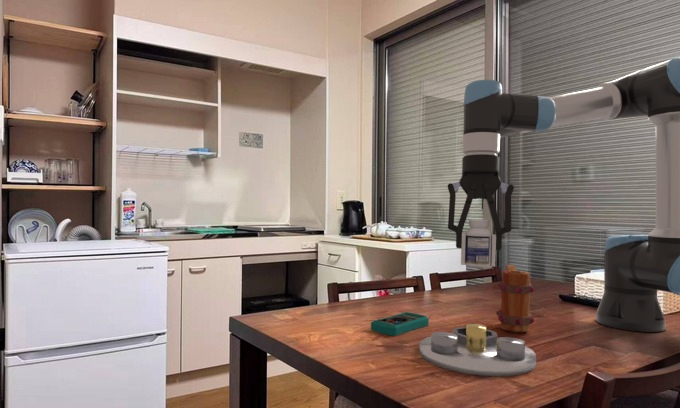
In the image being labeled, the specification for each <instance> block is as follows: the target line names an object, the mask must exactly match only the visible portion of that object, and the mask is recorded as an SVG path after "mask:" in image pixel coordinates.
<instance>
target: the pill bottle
mask: <svg viewBox="0 0 680 408" xmlns="http://www.w3.org/2000/svg"><path fill="white" fill-rule="evenodd" d="M489 222H490V221H489V220H486V219H469V221H468V226H469V229H467V230H466V231H465V234H466V241H465V266H466V267H471V268H490V267H492V266H491V253H492V234H493V233H492V231H491V230H489V229H488V228H489V226H490V223H489Z"/></svg>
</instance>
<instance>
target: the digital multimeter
mask: <svg viewBox="0 0 680 408" xmlns="http://www.w3.org/2000/svg"><path fill="white" fill-rule="evenodd" d="M428 326H429V317H427V316H426V315H422V314H419V313H414V312H413V313H412V312H408V311H407V312H400V313H397V314H395V315H391V316H388V317H387V316H386V317H383V318H378V319H374V320H373V321H371V322H370V331H372V332H376V333H378V334H382V335H387V336H392V337H396V336H399V335H403V334H405V333H408V332H411V331H415V330H418V329H422V328H426V327H428Z"/></svg>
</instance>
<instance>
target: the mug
mask: <svg viewBox="0 0 680 408" xmlns="http://www.w3.org/2000/svg"><path fill="white" fill-rule="evenodd" d="M516 267H517V266H516V265H514V264H506V266H505V270H503V271H502V275H501V276H502V279H501V281H500V282H499V283H498V287H499V290H500V293H501V294H500V295H501V309H499V310H497V311H496V312H495V313H496V315H497V317H498V319H497V320H498V321H499V322H500V328H501V329H502V330H503V331H506V332H508V333H509V332H510V333H515V334H516V333H517V334H519V333H520V334H522V333H525V332H528V331H529V329H530V325H532V324H533V323H534V322H535V319H534V318H533V316H534V315H533V314H532V312H530V302H531V301H530V300H531V293H533V292H534V291H535V288H534V286H533V284H531V274H530V272H528V271H521V270H517V268H516Z"/></svg>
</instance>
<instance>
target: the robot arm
mask: <svg viewBox="0 0 680 408" xmlns="http://www.w3.org/2000/svg"><path fill="white" fill-rule="evenodd" d="M463 97H464V98H463V99H464V100H463V105H462V106H463V135H462V153H463V154H464V156H463V157H462V161H461V162H462V165H461V177H460V179H459V181H457V182H453V183H451V182H450V183H448V184H447V189H448V192H449V205H448V219H447V229H448V230H450V231H453V232H454V233H455V234H456V235H455V247H456V249H460V265H463V266H464V265H465V241H466V232H465V233H464V232H463V230H464V228H465V224H466V221H467V218H468V215H469V212H470V209H471V205H472V202H473V200H477V199H478V200H479V199H480V200H485V201H486V203H487V207H488V210H489V215H490V218H491V222H492V225H493V226H492V227H493V230H494V234H493V233H492V253H491V266H490V267H496V255H497V254H496V253H497V251H501V250H502V245H503V244H502V243H503V242H502V237H503V234H506V233H510V232H511V231H512V194H513V192H514V189H515V185H513V184H507V183H504V182H502V180H501V177H500V156H499V155H498V154H499V153H500V152H501V138H505V137H507V138H508V137H511V136H515V135H520V134H526V133H529V132H530V133H531V132H533V133H535V132H545V131H549V129H551V128H555V127H561V126H566V125H571V124H576V123H580V122H586V121H592V120H596V119H600V120H603V121H612V120H617V119H625V118H626V119H629V118H641V117H643V118H644V117H647V120H648V122H650V123H651V124H652V125H654V127H655V227H654V229H652V230H651V231H650V232H649V233H648V234H627V235H624V234H623V235H614V236H609V237H607V239H606V240H605V247H604V251H603V252H604V253H603V254H604V255H603V256H604V257H603V258H604V259H603V260H604V262H603V263H604V264H603V265H604V267H603V268H604V270H603V271H604V280H603V281H604V282H603V283H604V286H603V287H604V290H603V295H602V298H601V300H600V303H599V305H598V307H597V310H596V312H595V314H596V315H595V317H596V318H595V320H596V322H597V323H598V324H601V325H603V326H607V327H609V328H613V329H619V330H625V331H631V332H644V333H645V332H647V333H657V332H663V331H665V330H666V319H665V317H664V313H663V311H662V307H661V305H660V302H659V299H658V291H661V292H667V293H671V294H674V295H677V296H680V55H679V56H675V57H674V56H673V57H672V58H671V59H669V60H665V61H662V62H659V63H657V64H654V65H651V66H648V67H646V68H642V69H640V70H637V71H635V72H632V73H630V74H627V75H625V76H622V77H620V78H617V79H615V80H611V81H605V82H603V83H599V84H598V85H597V86H596V87H595V88H591V89H586V90H582V91H581V90H580V91H576V92H570V93H565V94H560V95H559V94H558V95H553V96H548V97H547V96H541V95H538V94H535V95H534V94H533V95H532V94H517V93H516V94H515V93H506V92H503V86H502V84H501V82H500V81H498V80H495V79H478V80H474V81H471V82H470V83H469V82H468V84H467V85H466V86H465V89H464V96H463ZM459 188H462V190H463V191H464V193H465V194H466V199H465V202H464V204H463V208H462V211H461V214H460V217H459V219H458V220H459V221H458V223H457V225H455V210H456V198H457V197H456V194H457V193H458V192H459ZM499 188H500V189H501V193H502V194H503V226H502V225H501V224H500V222H501V221H500V219H499V215H498V211H497V207H496V203H495V199H494V195H495V193H496V192H497V191H498V189H499ZM465 266H466V265H465Z"/></svg>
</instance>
